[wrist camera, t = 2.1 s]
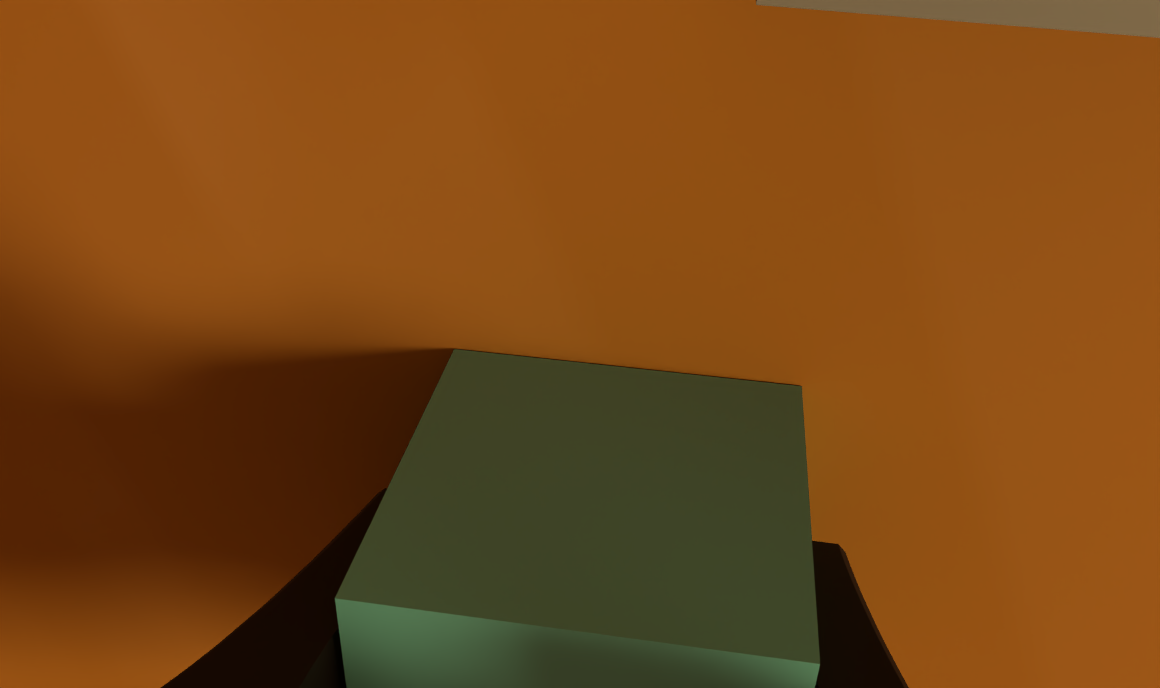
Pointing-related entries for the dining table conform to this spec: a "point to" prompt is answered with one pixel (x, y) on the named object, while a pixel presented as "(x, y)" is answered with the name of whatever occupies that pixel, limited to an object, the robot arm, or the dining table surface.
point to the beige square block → (1010, 12)
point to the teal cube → (589, 535)
